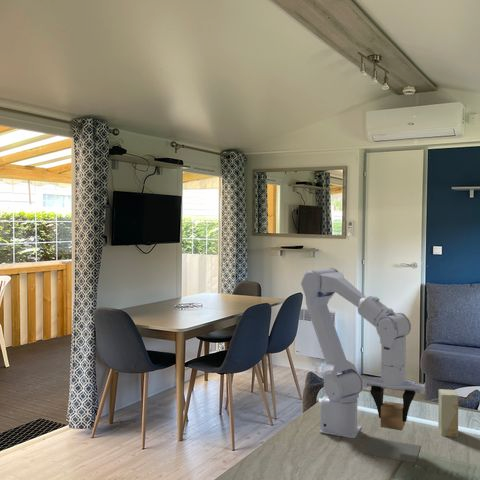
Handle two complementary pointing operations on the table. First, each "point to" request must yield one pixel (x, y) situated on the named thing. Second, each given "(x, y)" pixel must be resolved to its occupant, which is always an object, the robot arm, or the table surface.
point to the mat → (393, 450)
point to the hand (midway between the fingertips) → (392, 418)
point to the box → (448, 413)
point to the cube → (392, 415)
